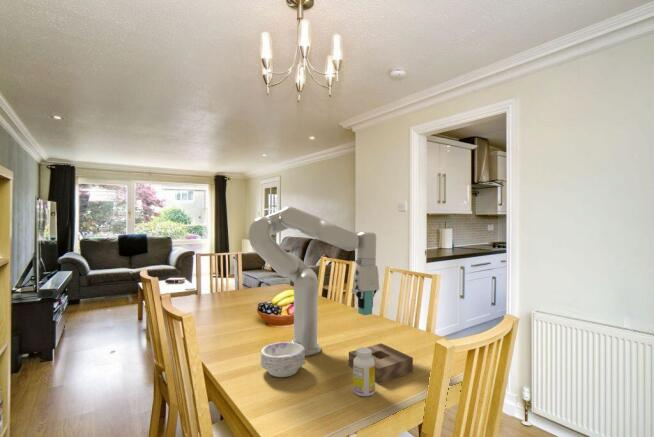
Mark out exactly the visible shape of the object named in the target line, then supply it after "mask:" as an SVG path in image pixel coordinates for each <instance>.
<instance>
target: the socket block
mask: <svg viewBox="0 0 654 437" xmlns="http://www.w3.org/2000/svg"><path fill="white" fill-rule="evenodd" d="M365 348H369V349H371V351H372V355H371V357H372V358H373V359H374V361H375V384H377V385H381V384H383V383H386V382H388V381H389V382H390V381H392V380H394V379H397V378H399V377H400V378H401V377H402V376H406V375H409V374H410V373H413V371H414V358H413V356H410V355H408V354H406V353H403V352H402V351H399V350H397V349H396V348H395V349H394V348H392V347H390V346H388V345H387V344H383V343H381V342H380V343H377V344H373V345H371V346H366V347H365ZM356 350H357V349H355V350H352V351H348V367H350V368H351V369H353V360H354V358H355V357H357V354H356Z"/></svg>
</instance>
